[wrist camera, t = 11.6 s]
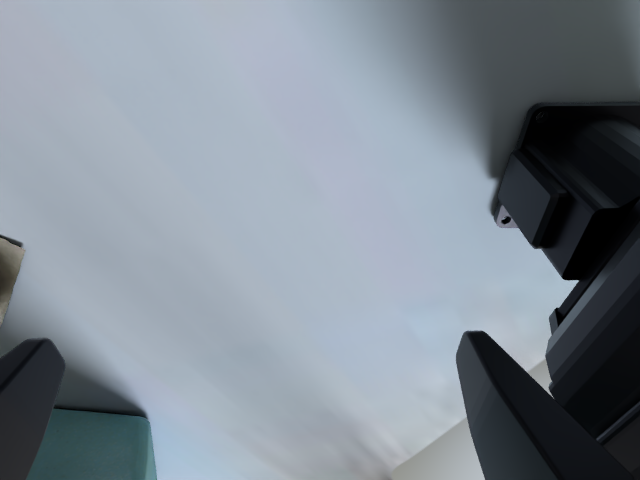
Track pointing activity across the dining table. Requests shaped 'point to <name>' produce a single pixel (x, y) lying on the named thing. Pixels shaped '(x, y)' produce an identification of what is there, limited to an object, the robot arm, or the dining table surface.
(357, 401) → the dining table surface
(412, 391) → the dining table surface
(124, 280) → the dining table surface
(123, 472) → the flower pot
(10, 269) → the condiment
